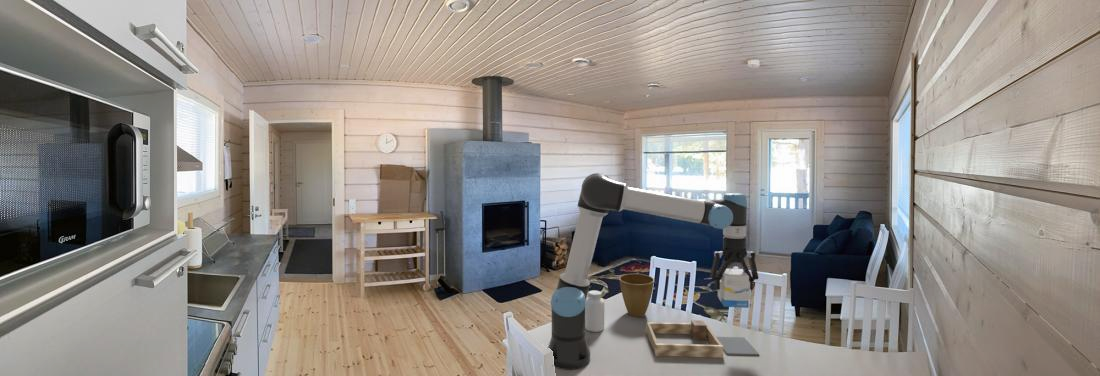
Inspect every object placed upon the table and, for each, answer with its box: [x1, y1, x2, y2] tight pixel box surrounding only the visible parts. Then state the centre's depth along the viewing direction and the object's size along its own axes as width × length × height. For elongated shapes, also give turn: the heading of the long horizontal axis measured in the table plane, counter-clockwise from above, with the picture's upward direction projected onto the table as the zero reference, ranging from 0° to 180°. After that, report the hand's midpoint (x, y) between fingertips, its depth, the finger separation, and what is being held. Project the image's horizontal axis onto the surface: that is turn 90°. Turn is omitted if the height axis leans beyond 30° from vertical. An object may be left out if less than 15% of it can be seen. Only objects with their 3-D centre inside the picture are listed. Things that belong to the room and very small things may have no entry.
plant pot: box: [619, 273, 655, 318], centre depth 179 cm, size 15×15×16 cm
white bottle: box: [585, 289, 605, 333], centre depth 165 cm, size 8×8×15 cm
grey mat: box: [716, 336, 760, 357], centre depth 149 cm, size 11×13×1 cm
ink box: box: [718, 268, 750, 309], centre depth 147 cm, size 9×8×12 cm
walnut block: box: [690, 319, 708, 342], centre depth 156 cm, size 4×4×6 cm
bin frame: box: [646, 321, 724, 359], centre depth 151 cm, size 23×19×4 cm
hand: (733, 297), depth 147 cm, fingers closed on ink box, 9 cm apart
